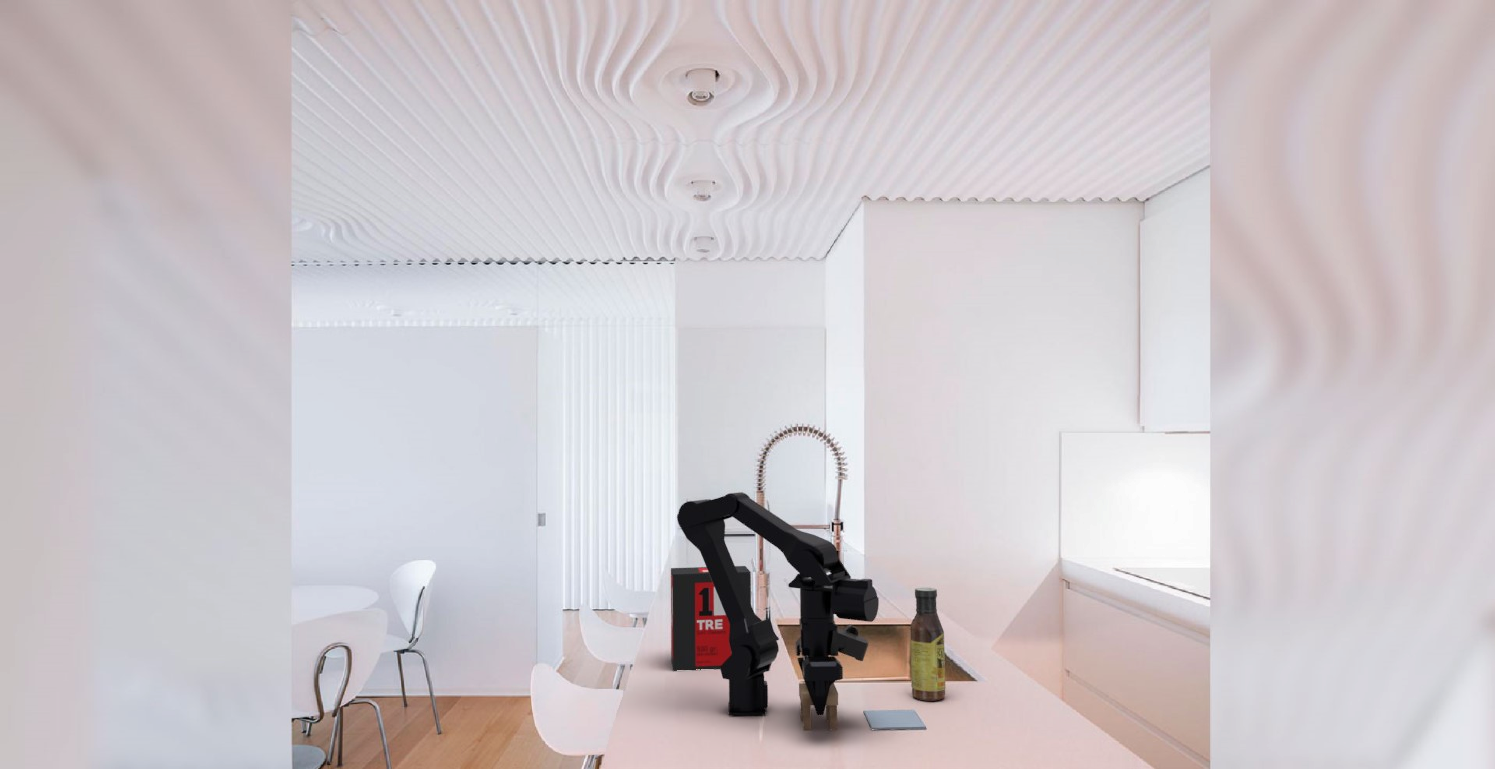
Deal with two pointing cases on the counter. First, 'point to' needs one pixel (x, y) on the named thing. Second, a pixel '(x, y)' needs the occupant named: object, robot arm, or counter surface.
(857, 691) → the counter surface
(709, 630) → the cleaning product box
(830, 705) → the stool
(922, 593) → the sauce bottle
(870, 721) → the pad
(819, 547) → the robot arm
